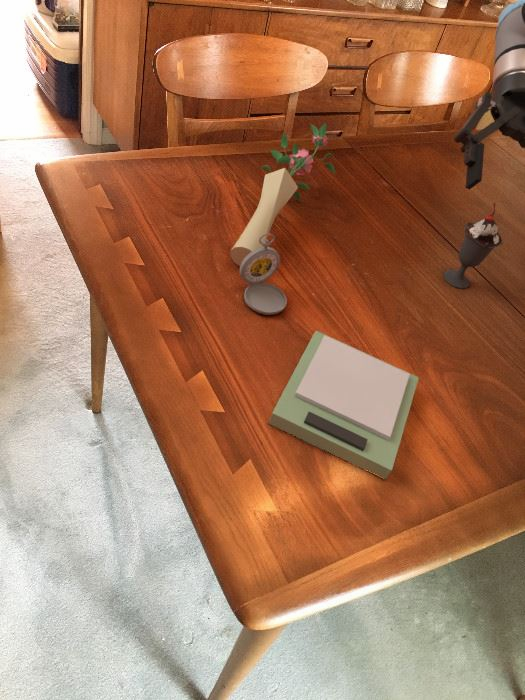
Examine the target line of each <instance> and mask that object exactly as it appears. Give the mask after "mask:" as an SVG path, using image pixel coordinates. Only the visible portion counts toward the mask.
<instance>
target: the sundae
mask: <svg viewBox="0 0 525 700" xmlns="http://www.w3.org/2000/svg"><path fill="white" fill-rule="evenodd" d="M492 204H493V211H492V213H491V214H488V215H486V216H485V218H484V219H479V220H478V221H476V222H473V221H471V222H469V221H468V222H467V224H466V225H465V226H464V229H463V231H464V233H465V236H464V239H463V241H462V243H461V245H460V249H459V251H458V254H457V256H458V259H459V262H460V265H459V268H458V269H456V270H455V269H448V270H445V271H444V272H443V279H444V281H445V282H446V283H447V284H448V285H450V286H452V287H454V288H457V289H467V288H469V287H470V283H471V282H470V280H469V278H468V277H467V276H466V275H465V272H466V271H467V269H468V268H474V267H477V266H479V265H480V264H481V263H483V261H484V260H485V259H486V258H487V257H488V256H489V255H490V253H491V252H492V251H493V250H494V249H495V248H498V247H500V246H502V245H503V238H502V236H501V234H500V233H499V231H498V224H497V223H496V221H495V220H494V215H495V212H496V202H493V203H492Z"/></svg>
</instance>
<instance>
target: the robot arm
mask: <svg viewBox="0 0 525 700" xmlns="http://www.w3.org/2000/svg"><path fill="white" fill-rule="evenodd" d="M494 42H495V43H494V59H493V61H494V62H493V72H492V73H493V75H492V76H493V77H492V90H491V93H490V92H488V91H487V92H485V93H484V94H483V95H482V96H481V97H480V98H479V99H477V101H475V103H474V108H473V111H472V113H471V114H470V115H469V117H468V118H467V119H466V121H465V122H464V123H463V125H462V126H461V127H460V128H459V130H458V131H457V133H456V134H455V135H454V136H453V140H454V142H455V143H458V144H459V143H461V144H462V145H461V146H460V149H459V150H460V151H461V153H463V154H464V155H463V156H464V157H463V164H464V166H466V178H465V179H466V181H465V189H467V190H471V189H473V188H474V187H475V186H476V185H478V184H480V183H481V182H482V179H483V167H484V154H485V143H483V141H484V140H485V139H486V138H488V137H490V136H491V135H492V134H494V133H495V132H497V131H499V132H500V133H501V135H502V136H504V137H509V138H511V139H512V140H514V141H515V142H518V144H519V145H520V147H521V149H525V0H516V1H515V2H513V3H509V4H508V5H507V6H506V7H505V8H504V9H503V10H502V12H501V13H500V15H499V16H498V21H497V26H496V30H495V34H494ZM489 111H490V115H491V117H492V119H493V121H492V122H491V123H489V124H488V125H487V126H485V127H483V128H482V129H481V130H479V131H478V132H476V133H475V134H473V133H472V131H473V130H474V129H475V127H476V126H477V125H478V123H479V122H480V121H481V119H482V118H483V116H484V115H485V114H486V113H488V112H489Z"/></svg>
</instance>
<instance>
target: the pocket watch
mask: <svg viewBox="0 0 525 700" xmlns="http://www.w3.org/2000/svg"><path fill="white" fill-rule="evenodd" d="M266 235H268V236H270V237H272V239H271V241H269V239H267V240H266V241H265V242H263V243H262V242H261V239H262V237H264V236H266ZM274 241H275V235H273V233H269V234H264V235H263V236H261V237H260V239H259V242H260V244H262V245H263V246H264V247H261V248H258V249H256V250H254V251H252V252H251V253H249V254H248V255H247V256H246V257H245V258H244V259H243V261H242V263H241V265H240V266H239V276H240V278H241V279H242V280H243V281H244V282H245V283H247V284H249V285H248V286H247V287H246V288H245V289H244V293H243V299H244V302H245V304H246V305H247V307H249V308H250V309H251V310H252V311H254V312H256V313H258V314H262V315H266V316H267V315H268V316H271V315H277V314H279V313H281V312H283V311H284V309H285V308H286V306H287V304H288V299H287V296H286V294H285V292H284V291H283V290H282V289H280V287H278V286H276V285H274V284H272V283H269V282H265V281H266V280H268V279H269V278H271V277H272V276H273V275H274V274H275V273H276V272H277V270H278V269H279V267H280V264H281V256H280V254H279V251H277V250H276V249H275V248H273V247H271V246H270V245H271V244H272V243H273V242H274ZM269 246H270V247H269Z"/></svg>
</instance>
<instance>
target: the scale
mask: <svg viewBox="0 0 525 700" xmlns="http://www.w3.org/2000/svg"><path fill="white" fill-rule="evenodd" d="M419 378H420V377H419V376H417V375H414V374H412V373H411V372H408V371H406V370H404V369H401V368H399V367H397V366H395V365H394V364H391V363H388V362H386V361H384V360H382V359H380V358H377V357H375V356H373V355H371V354H369V353H367V352H364V351H362V350H360V349H358V348H355V347H353V346H351V345H349V344H346V343H345V342H342V341H340V340H338V339H336V338H334V337H331V336H329V335H327V334H325V333H323V332H321V331H318V330H315V331H314V333H313V334H312V336H311V339H310V340H309V342H308V344H307V346H306V348H305V349H304V352H303V354H302V355H301V357H300V358H299V361H298V363H297V365H296V367H295V369H294V370H293V373H292V375H291V376H290V378H289V380H288V382H287V383H286V386H285V388H284V389H283V391H282V393H281V395H280V396H279V399H278V401H277V403H276V405H275V406H274V408H273V410H272V413H271V415H270V417H269V420H268V423H267V424H268V425H271V426H272V427H275V428H276V429H278V430H280V431H282V432H284V431H285V433H286V432H287V433H286V434H289V435H291V434H292V435H291V436H293V437H295V436H296V437H295V438H297V439H299V440H301V439H302V440H301V441H303V442H305V443H307V444H309V445H311V446H313V447H315V446H316V448H317V447H318V448H317V449H319V450H322V451H324V450H325V451H324V452H326V451H327V452H326V453H328V452H329V453H328V454H330V453H331V454H330V455H332V454H333V455H332V456H334V455H335V456H334V457H336V456H337V457H336V458H338V457H340V458H342V459H344V460H346V461H348V462H349V463H348V462H347V463H348V464H351V463H352V464H351V465H353V464H354V465H353V466H355V467H357V466H358V467H357V468H359V467H360V468H359V469H361V468H363V469H365V470H368V471H370V472H372V473H375V474H377V475H379V476H380V477H383V478H384V479H385V480H387V478H388V477H389V475H390V474H391V473H392V471H393V468H394V465H395V462H396V458H397V455H398V452H399V448H400V445H401V442H402V437H403V435H404V431H405V427H406V424H407V422H408V421H407V420H408V417H409V414H410V410H411V407H412V403H413V400H414V396H415V393H416V390H417V386H418V382H419ZM340 458H339V459H340ZM342 459H341V460H342ZM344 460H343V461H344ZM346 461H345V462H346ZM363 469H362V470H363ZM365 470H364V471H365ZM384 479H383V480H384Z"/></svg>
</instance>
